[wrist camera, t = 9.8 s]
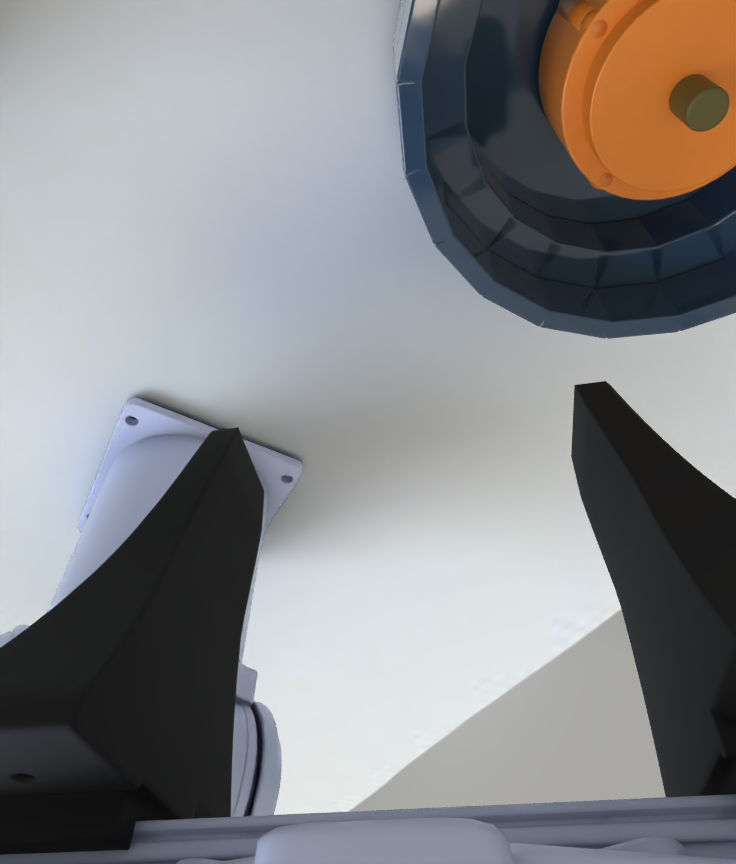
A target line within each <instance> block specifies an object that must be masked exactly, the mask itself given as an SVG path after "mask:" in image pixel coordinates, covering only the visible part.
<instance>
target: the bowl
mask: <svg viewBox="0 0 736 864" xmlns="http://www.w3.org/2000/svg"><path fill="white" fill-rule="evenodd" d="M559 2H560V0H401V3H400V9H399V14H398V19H397V24H396V30H395V35H394V40H393V44H394V46H393V53H394V66H395V78H396V90H397V102H398V114H399V125H400V137H401V148H402V160H403V171H404V172H405V178H406V180H407V182H408V185H409V187H410V189H411V192H412V194H413V197H414V199H415V201H416V204H417V206H418V208H419V211H420V213H421V215H422V218H423V220H424V222H425V225H426V227H427V229H428V232H429V234H430V237H431V239H432V241H433V243H434V244H435V246H436V248H437V249H438V250H439V251H440V252H441V253H442V254H443V255H444V256H445V257H446V258H447V260H448V261H449V262H450V263H451V264H452V265H453V266H454V267H455V268H456V269H457V270H458V272H459V273H460V274H461V275H462V276H463V277H464V278H465V279H466V280H467V281H468V282H469V283H470V285H471V286H472V287H473V288H474V289H475V290H476V291H477V292H478V293H479V294H480V295H482V297H484V298H486V299H488V300H490V301H491V302H493V303H495V304H497V305H499V306H501V307H503V308H505V309H507V310H508V311H510V312H512V313H514V314H516V315H518V316H520V317H522V318H524V319H526V320H527V321H529V322H531V323H533V324H535V325H537V326H541V327H543V328H549V329H554V330H560V331H566V332H571V333H577V334H583V335H588V336H594V337H600V338H606V337H607V338H619V337H630V336H641V335H651V334H662V333H672V332H678V331H683V330H686V329H689V328H692V327H695V326H698V325H701V324H704V323H707V322H710V321H713V320H716V319H719V318H721V317H724V316H727V315H730V314H733V313H736V166H734V167H733V168H732V169H730V170H729V171H728V172H726V173H725V174H723V175H722V176H720V177H719V178H717V179H715V180H714V181H712V182H710V183H708V184H706V185H705V186H702V187H700V188H698V189H695V190H693V191H691V192H688V193H685V194H682V195H679V196H675V197H670V198H665V199H657V200H633V199H628V198H623V197H619V196H616V195H613V194H611V193H608V192H606V191H604V190H598V189H595V188H594V187H592V186H591V184H590V183H589V181H588V180H587V178H586V177H585V176H584V175H583V174H582V173H581V171H580V170H579V169H578V167H577V166H576V164H575V163H574V161H573V160H572V158H571V157H570V155H569V154H568V152H567V151H566V149H565V147H564V146H563V144H562V143H561V141H560V140H559V138H558V136H557V135H556V133H555V132H554V130H553V129H552V127H551V125H550V123H549V121H548V119H547V117H546V115H545V112H544V109H543V106H542V103H541V97H540V92H539V63H540V57H541V51H542V46H543V43H544V40H545V37H546V33H547V30H548V28H549V26H550V23H551V21H552V19H553V16H554V14H555V13H556V11H557V9H558V4H559Z"/></svg>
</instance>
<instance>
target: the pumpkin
mask: <svg viewBox="0 0 736 864" xmlns="http://www.w3.org/2000/svg"><path fill="white" fill-rule="evenodd" d="M539 92H540V97H541V103H542V106H543V109H544V112H545V115H546V117H547V119H548V121H549V123H550V125H551V127H552V129H553V130H554V132H555V133H556V135H557V136H558V138H559V140H560V141H561V143H562V144H563V146H564V147H565V149H566V151H567V152H568V154H569V155H570V157H571V158H572V160H573V161H574V163H575V164H576V166H577V167H578V169H579V170H580V171H581V173H582V174H583V175H584V176H585V177H586V178H587V180H588V181H589V183H590V184H591V186H592V187H594V188H595V189H598V190H604V191H606V192H608V193H611V194H613V195H616V196H619V197H623V198H628V199H633V200H657V199H665V198H670V197H675V196H679V195H682V194H685V193H688V192H691V191H693V190H695V189H698V188H700V187H702V186H705V185H706V184H708V183H710V182H712V181H714V180H715V179H717V178H719V177H720V176H722V175H723V174H725V173H726V172H728V171H729V170H730V169H732V168H733V167H734V166H736V0H560V2H559V4H558V9H557V11H556V13H555V14H554V16H553V19H552V21H551V23H550V26H549V28H548V30H547V33H546V37H545V40H544V43H543V46H542V51H541V57H540V63H539Z"/></svg>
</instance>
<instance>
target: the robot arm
mask: <svg viewBox="0 0 736 864" xmlns="http://www.w3.org/2000/svg"><path fill="white" fill-rule="evenodd" d="M129 416H133V417H135V418H137V420H135V419H132V418H130V417H129ZM571 456H572V461H573V465H574V470H575V474H576V478H577V482H578V487H579V491H580V495H581V499H582V501H583V504H584V507H585V510H586V512H587V515H588V518H589V520H590V523H591V526H592V529H593V531H594V534H595V537H596V539H597V542H598V544H599V547H600V550H601V552H602V555H603V558H604V560H605V563H606V566H607V568H608V571H609V574H610V576H611V579H612V582H613V584H614V587H615V590H616V593H617V596H618V599H619V602H620V605H621V608H622V612H623V616H624V620H625V623H626V627H627V631H628V635H629V639H630V643H631V646H632V650H633V654H634V658H635V662H636V667H637V671H638V674H639V679H640V683H641V687H642V691H643V695H644V699H645V704H646V708H647V713H648V717H649V721H650V726H651V730H652V735H653V739H654V743H655V748H656V752H657V757H658V762H659V767H660V771H661V776H662V780H663V785H664V790H665V795H666V797H665V798H644V799H621V800H600V801H599V800H598V801H576V802H554V803H533V804H512V805H511V804H510V805H489V806H488V805H487V806H467V807H466V806H465V807H443V808H421V809H398V810H376V811H355V812H332V813H310V814H287V815H274V811H275V807H276V803H277V798H278V793H279V787H280V779H281V747H280V741H279V738H278V733H277V728H276V723H275V721H274V718H273V715H272V713H271V712H270V710H269V709H268V708H267V707H266V706H265V705H263V704H262V703H260V702H256V701H253V700H254V693H255V686H256V679H257V671H255V670H253V669H251V668H248V667H246V666H245V665H243V664H241V663H242V657H243V651H244V645H245V639H246V633H247V627H248V621H249V616H250V610H251V604H252V598H253V592H254V586H255V580H256V574H257V568H258V562H259V556H260V550H261V544H262V538H263V532H264V529H265V528H266V526H267V525H268V523H269V522H270V521H271V519H272V518H273V516H274V515H275V513H276V512H277V510H278V509H279V508H280V506H281V505H282V503H283V502H284V500H285V499H286V497H287V496H288V495H289V493H290V492H291V490H292V489H293V487H294V486H295V485H296V483H297V482H298V480H299V479H300V477H301V476H302V473H303V465H302V463H301V462H300V461H298V460H296V459H293V458H291V457H288V456H286V455H283V454H280V453H278V452H275V451H273V450H270V449H268V448H265V447H262V446H260V445H257V444H255V443H252V442H249V441H247V440H244V439H243V438H242V436H241V433H240V431H239V429H238V428H230V429H222V430H219V429H216V428H213V427H211V426H208V425H206V424H203V423H201V422H198V421H195V420H193V419H190V418H188V417H185V416H183V415H180V414H177V413H175V412H172V411H170V410H167V409H165V408H162V407H159V406H157V405H154V404H152V403H149V402H147V401H144V400H141V399H138V398H131V399H129V400H127V401H126V403H125V405H124V407H123V410H122V412H121V415H120V417H119V420H118V422H117V425H116V428H115V430H114V433H113V435H112V438H111V440H110V443H109V446H108V448H107V451H106V453H105V456H104V458H103V461H102V464H101V466H100V469H99V471H98V474H97V476H96V479H95V481H94V484H93V487H92V489H91V492H90V494H89V497H88V499H87V502H86V505H85V507H84V510H83V512H82V515H81V517H80V520H79V523H78V525H77V528H78V530H79V531H80V532H81V535H80V538H79V540H78V542H77V545H76V547H75V549H74V552H73V554H72V556H71V558H70V561H69V563H68V565H67V568H66V570H65V572H64V574H63V577H62V579H61V581H60V584H59V586H58V588H57V590H56V593H55V595H54V597H53V600H52V602H51V604H50V607H49V609H48V611H47V613H46V614H45V615H44V616H42V617H41V618H40V619H38V620H37V621H36V622H35V623H33V624H32V625H31V626H27V625H19V626H17V627H15V628H14V629H13V631H12V632H11V631H9V632H7V633H4V634H2V635H0V864H736V499H735V498H734V497H732V496H731V495H729V494H728V493H727V492H725V491H724V490H723V489H721V488H720V487H719V486H717V485H716V484H715V483H713V482H712V481H711V480H710V479H708V478H707V477H706V476H705V475H703V474H702V473H701V472H700V471H699V470H697V469H696V468H695V467H694V466H692V465H691V464H690V463H689V462H688V461H687V460H685V459H684V458H683V457H682V456H681V455H680V454H679V453H677V452H676V451H675V450H674V449H673V448H672V447H671V446H670V445H669V444H668V443H667V442H666V441H664V440H663V439H662V438H661V437H660V436H659V435H658V434H657V433H656V432H655V431H654V430H653V429H652V428H651V427H650V426H649V425H648V424H647V423H646V422H645V421H644V420H643V419H642V418H641V417H640V416H639V415H638V414H637V413H636V412H635V411H634V410H633V409H632V408H631V407H630V406H629V405H628V404H627V403H626V402H625V401H624V400H623V398H622V397H621V396H620V395H619V394H618V393H617V392H616V391H615V390H614V389H613V387H612V386H611V385H610V384H608V383H607V382H606V381H604V382H596V383H588V384H580V385H575V389H574V411H573V433H572V455H571ZM284 475H289V476H291V477H285V476H284Z"/></svg>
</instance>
